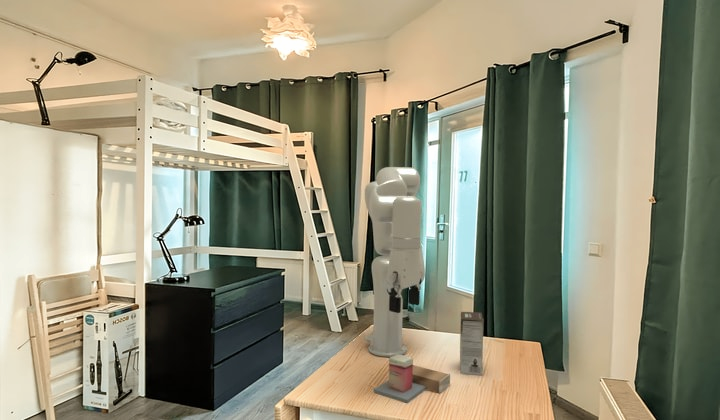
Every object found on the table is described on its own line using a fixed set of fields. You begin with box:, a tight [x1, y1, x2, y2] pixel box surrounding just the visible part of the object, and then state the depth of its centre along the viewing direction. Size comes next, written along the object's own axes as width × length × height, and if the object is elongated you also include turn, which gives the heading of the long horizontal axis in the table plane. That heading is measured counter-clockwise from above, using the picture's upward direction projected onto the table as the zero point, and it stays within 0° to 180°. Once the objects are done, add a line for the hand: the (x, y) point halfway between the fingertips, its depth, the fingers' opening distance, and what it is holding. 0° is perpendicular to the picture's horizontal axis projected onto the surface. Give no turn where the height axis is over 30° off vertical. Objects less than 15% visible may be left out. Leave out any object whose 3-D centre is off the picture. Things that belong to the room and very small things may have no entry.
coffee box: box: [459, 311, 484, 376], centre depth 130 cm, size 9×6×16 cm
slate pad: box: [373, 379, 427, 404], centre depth 114 cm, size 10×10×1 cm
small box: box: [388, 354, 414, 392], centre depth 114 cm, size 5×4×8 cm
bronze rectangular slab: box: [412, 364, 451, 394], centre depth 119 cm, size 12×6×3 cm, turn 54°
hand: (404, 307), depth 116 cm, fingers open, 9 cm apart
